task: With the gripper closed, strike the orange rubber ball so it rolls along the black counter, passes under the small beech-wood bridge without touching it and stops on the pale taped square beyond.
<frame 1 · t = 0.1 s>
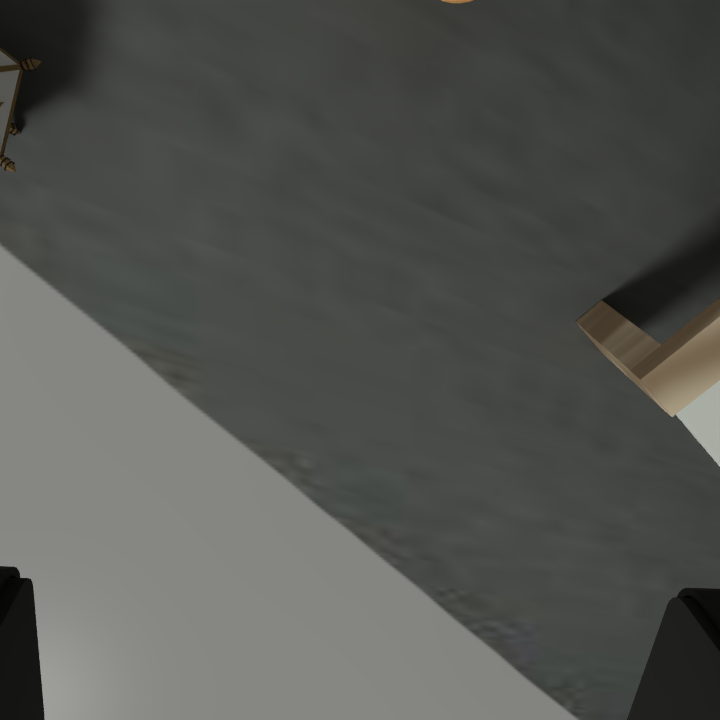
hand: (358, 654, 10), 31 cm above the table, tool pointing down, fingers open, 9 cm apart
bridge: (681, 261, 41), on the table
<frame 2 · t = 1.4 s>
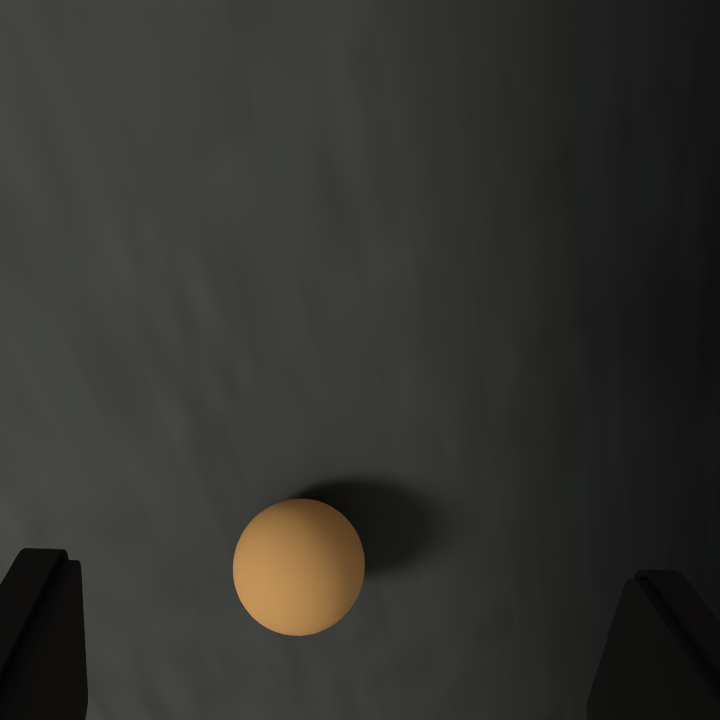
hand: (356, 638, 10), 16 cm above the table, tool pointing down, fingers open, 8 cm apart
ball: (299, 565, 26), on the table
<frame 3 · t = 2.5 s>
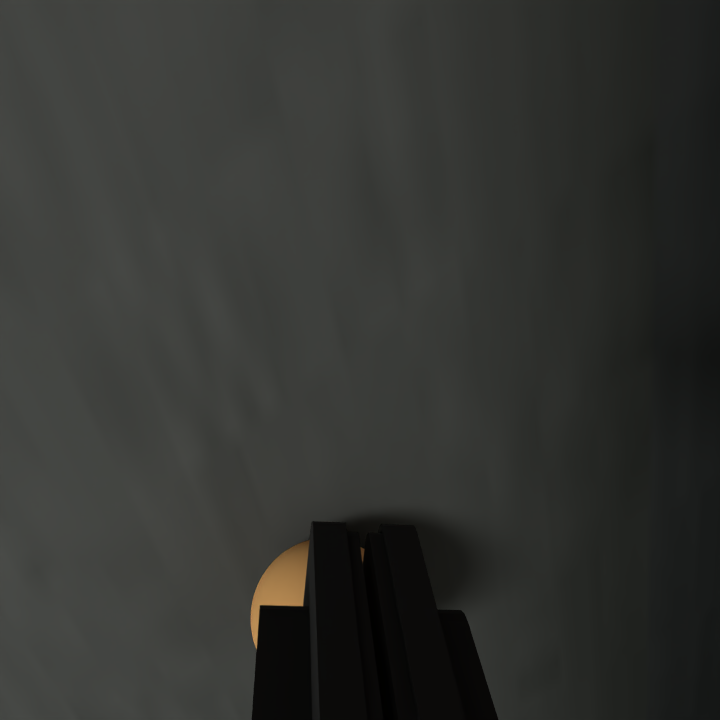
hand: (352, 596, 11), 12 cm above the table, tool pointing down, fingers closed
ball: (325, 614, 23), on the table
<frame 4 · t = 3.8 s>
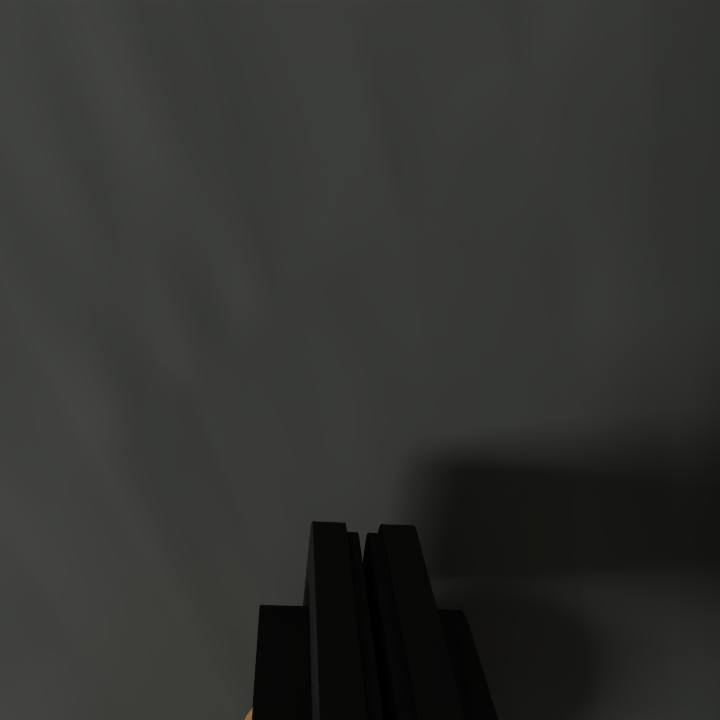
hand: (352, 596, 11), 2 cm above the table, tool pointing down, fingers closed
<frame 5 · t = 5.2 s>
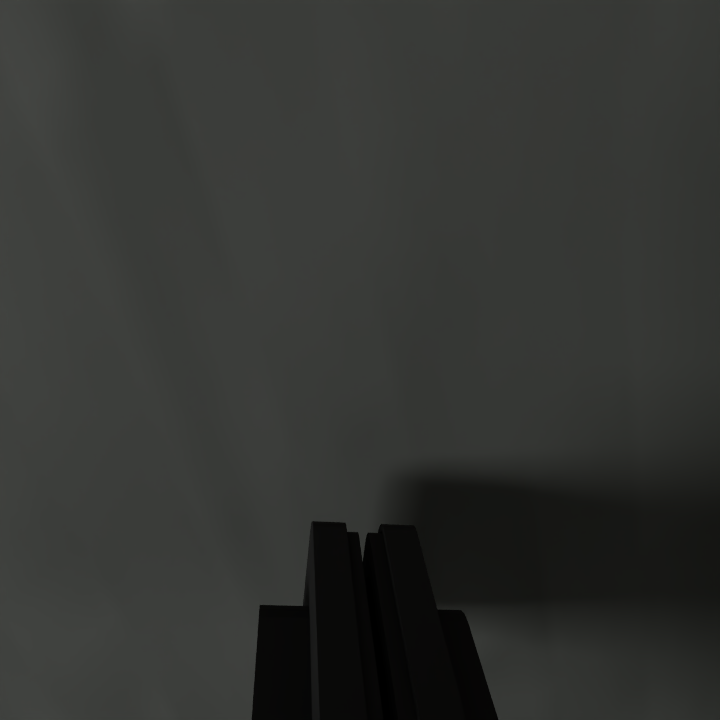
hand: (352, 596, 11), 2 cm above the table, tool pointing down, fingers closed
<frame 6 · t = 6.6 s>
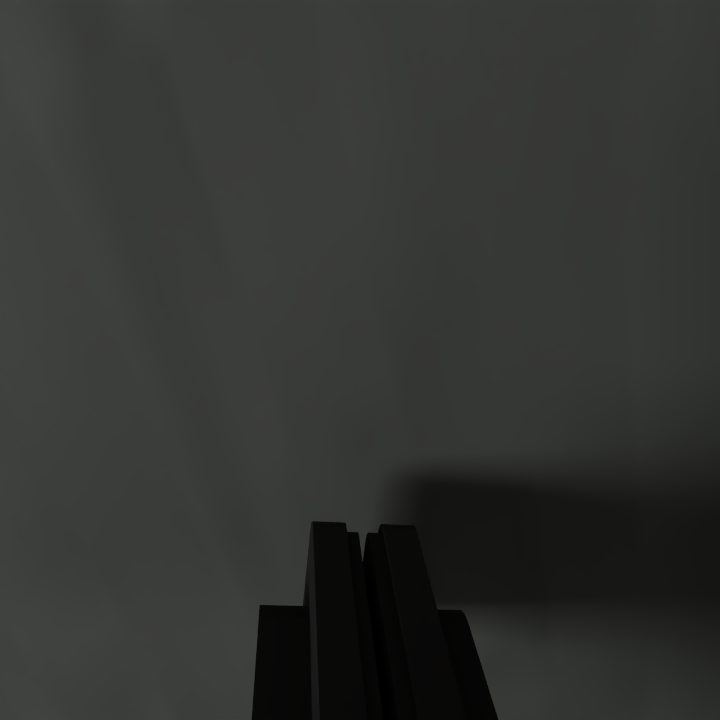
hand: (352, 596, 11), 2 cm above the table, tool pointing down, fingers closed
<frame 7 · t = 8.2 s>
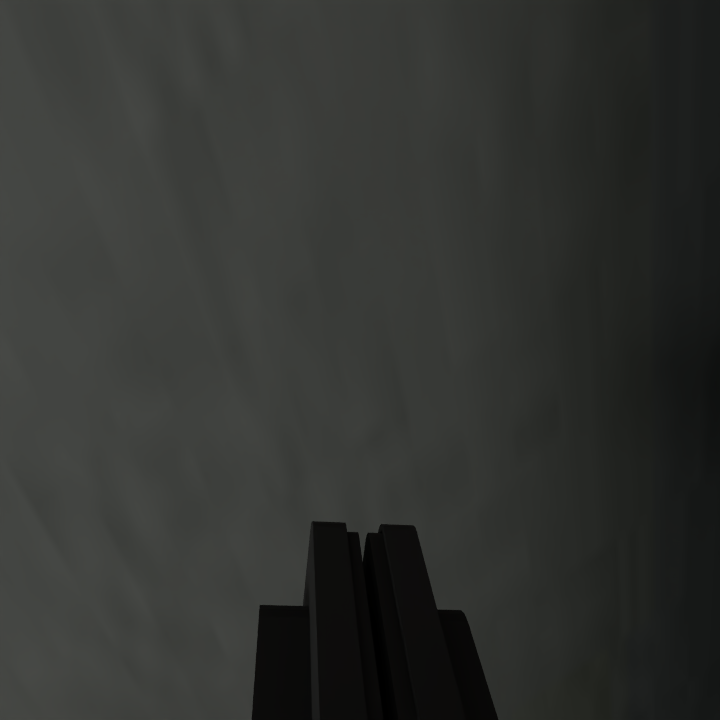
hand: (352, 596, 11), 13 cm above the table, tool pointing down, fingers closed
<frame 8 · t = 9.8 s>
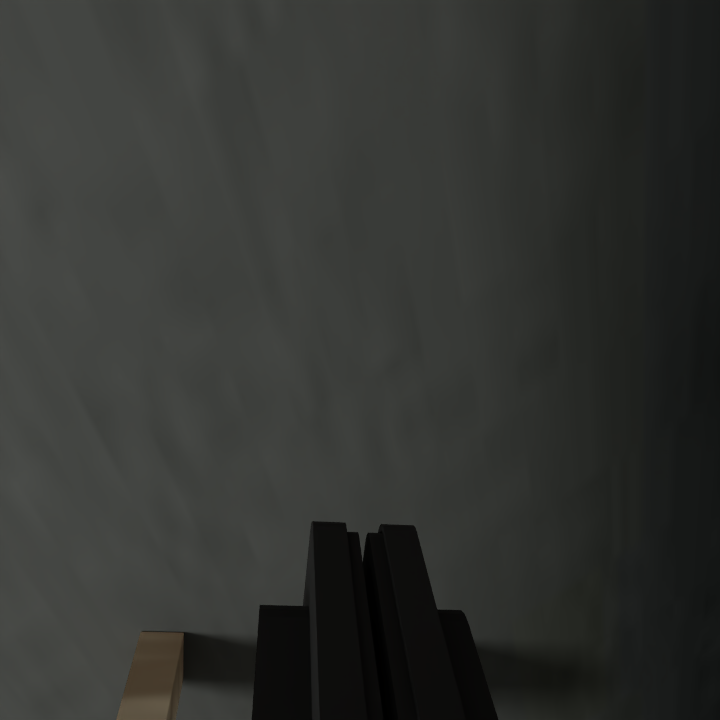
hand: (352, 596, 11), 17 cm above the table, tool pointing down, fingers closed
bridge: (286, 658, 34), on the table
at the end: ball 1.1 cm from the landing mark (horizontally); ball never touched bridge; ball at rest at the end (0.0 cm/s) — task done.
